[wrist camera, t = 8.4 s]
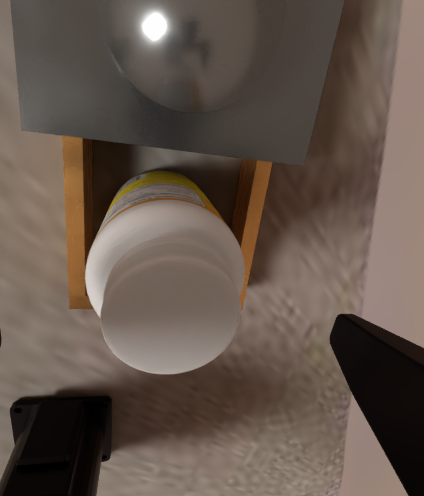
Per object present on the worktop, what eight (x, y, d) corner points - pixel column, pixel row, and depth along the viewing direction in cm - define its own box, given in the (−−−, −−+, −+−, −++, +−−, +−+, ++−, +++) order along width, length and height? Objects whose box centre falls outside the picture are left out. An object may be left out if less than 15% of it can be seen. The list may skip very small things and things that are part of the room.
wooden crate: (248, 289, 21) (279, 344, 16) (57, 284, 18) (23, 347, 13) (318, -42, 14) (407, -126, 9) (34, -125, 12) (-52, -305, 7)
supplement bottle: (200, 262, 19) (246, 396, 10) (109, 255, 18) (64, 399, 9) (216, 174, 17) (291, 240, 8) (114, 158, 16) (65, 214, 7)
